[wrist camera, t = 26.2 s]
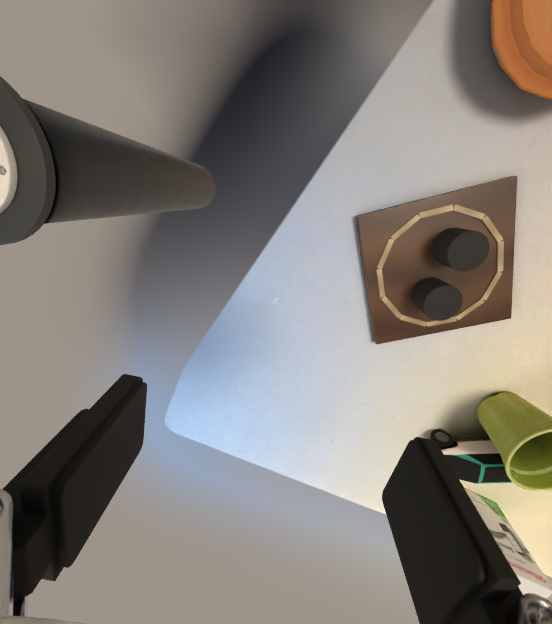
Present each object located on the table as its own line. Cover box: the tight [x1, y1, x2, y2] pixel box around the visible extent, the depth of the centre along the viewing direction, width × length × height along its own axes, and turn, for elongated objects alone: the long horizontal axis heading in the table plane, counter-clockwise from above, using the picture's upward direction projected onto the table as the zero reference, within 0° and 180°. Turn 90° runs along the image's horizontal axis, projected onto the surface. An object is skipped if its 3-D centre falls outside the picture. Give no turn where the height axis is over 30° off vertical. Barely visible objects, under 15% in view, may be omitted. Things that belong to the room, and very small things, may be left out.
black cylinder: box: [432, 228, 490, 271], centre depth 30 cm, size 4×4×4 cm
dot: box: [411, 277, 463, 321], centre depth 32 cm, size 4×4×4 cm
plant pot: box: [477, 392, 552, 491], centre depth 36 cm, size 9×9×9 cm
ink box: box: [464, 488, 552, 599], centre depth 42 cm, size 9×5×12 cm, turn 62°
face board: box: [356, 176, 517, 344], centre depth 33 cm, size 16×16×1 cm
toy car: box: [430, 430, 512, 483], centre depth 40 cm, size 6×12×5 cm, turn 96°
